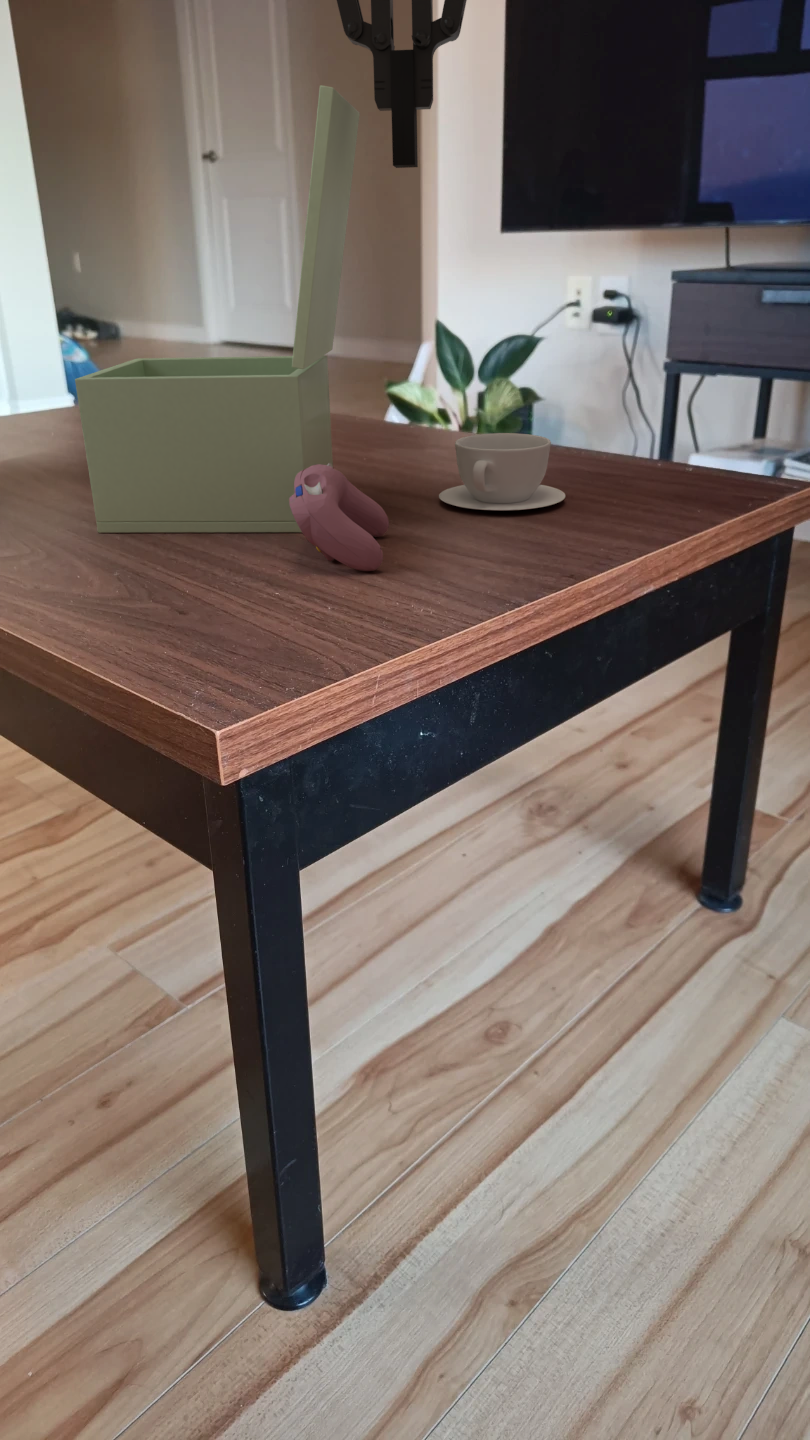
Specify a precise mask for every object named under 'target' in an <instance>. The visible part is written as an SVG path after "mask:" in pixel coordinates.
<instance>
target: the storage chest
mask: <svg viewBox="0 0 810 1440" xmlns="http://www.w3.org/2000/svg"><path fill="white" fill-rule="evenodd" d="M292 359H293V355H282V356H281V355H277V356H276V355H275V356H271V355H270V356H213V357H211V356H209V357H208V356H207V357H205V356H204V357H203V356H202V357H145V358H143V357H141V358H137V357H136V358H134V359H130V360H127V361H125V362H121V363H119V364H116V365H113V366H110V367H106V368H104V369H100V370H98V371H95V372H92V373H89V374H86V375H83V376H80V377H77V378H75V379H74V382H75V383H74V384H75V389H76V396H77V403H78V409H79V410H78V411H79V417H80V421H81V430H82V435H83V436H82V437H83V444H84V449H85V456H86V464H87V469H88V475H89V483H90V490H91V495H92V502H93V509H94V515H95V521H96V530H97V533H99V534H110V533H111V534H115V533H116V534H120V533H121V534H125V533H126V534H129V533H130V534H133V533H134V534H135V533H136V534H138V533H139V534H140V533H141V534H143V533H145V534H146V533H148V534H150V533H151V534H152V533H153V534H156V533H158V534H161V533H164V534H165V533H167V534H168V533H169V534H171V533H172V534H173V533H179V534H180V533H182V534H183V533H185V534H186V533H192V534H194V533H199V534H200V533H202V534H203V533H204V534H205V533H210V534H211V533H216V534H217V533H220V534H221V533H227V534H228V533H241V534H243V533H244V534H245V533H252V534H253V533H302V531H301V530H300V528H299V526H298V524H297V522H296V520H295V518H294V516H293V514H292V511H291V508H290V504H289V498H290V497H291V496H292V495H293V494H294V481H295V477H296V475H297V474H298V473H299V472H300V471H302V470H304V469H307V468H308V467H310V466H313V465H317V464H321V465H328V463H331V465H332V467H333V468H334V462H333V461H334V460H333V459H334V457H333V444H332V443H333V442H332V441H333V440H332V439H333V438H332V421H331V419H332V418H331V401H330V383H329V381H330V380H329V361H328V360H329V359H328V355H324V356H322V357H321V358H319V359H318V360H316V361H315V362H313V363H312V364H311V365H309V366H308V367H306V368H305V369H298V368H293V367H292Z"/></svg>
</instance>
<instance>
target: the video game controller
mask: <svg viewBox="0 0 810 1440" xmlns="http://www.w3.org/2000/svg"><path fill="white" fill-rule="evenodd" d="M289 504H290V508H291V511H292V514H293V516H294V518H295V520H296V522H297V524H298V526H299V528H300V530H301V531H302V532H301V534H302V535H303V536H304V538H305V539H306V540H307V541H308V542H309V543H310V544H311V545H312V546H313V547H315V548H316V550H317V551H318V552H319V553H322V555H323V557H324V558H325V559H326V560H328V561H329V562H331V561H333V560H335V561H337V562H340V563H341V564H342V565H345V566H347V567H348V568H350V569H354V570H357V571H361V572H374V571H377V569H379V567H380V566H381V565H382V563H383V561H384V554H383V553H384V552H383V548H382V546H381V545H380V543H378V541H377V540H376V539H375V538H380V537H382V536H384V535H385V534H386V533H387V532H388V529H389V527H390V523H389V522H390V521H389V517H388V515H387V513H386V511H385V510H384V509H383V507H382V506H381V505H380V504H379V503H378V502H376V501H375V500H374V499H372V498H371V497H370V496H368V495H367V494H365V493H363V491H361V490H359V489H358V488H357V487H356V486H355V485H354V484H352V482H350V480H349V479H348V478H347V477H346V476H345V474H343V473H342V472H341V471H340V470H338V469H335V468H334V466H333V467H332V465H331V463H328V465H321V464H317V465H313V466H310V467H308V468H307V469H304V470H302V471H300V472H299V473H298V474H297V475H296V477H295V481H294V494H293V495H292V496H291V497H290V498H289ZM374 537H375V538H374Z"/></svg>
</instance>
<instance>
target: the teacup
mask: <svg viewBox="0 0 810 1440" xmlns="http://www.w3.org/2000/svg"><path fill="white" fill-rule="evenodd" d="M551 446H552V441H551V439H549V438H547V437H545V436H542V435H541V436H540V435H535V434H528V433H514V432H513V433H512V432H496V433H480V434H474V435H468V436H463V437H460V438H457V439H456V440H455V442H454V448H455V455H456V464H457V470H458V474H459V478H460V479H461V481H462V484H461V485H456V486H451V487H449V488H447V489H444V490H442V491H441V492H439V494H438V498H439V499H440V501H442V502H444V503H446V504H448V505H450V506H451V505H452V506H456V507H458V508H463V509H471V510H481V511H522V510H523V511H524V510H532V509H538V508H544V507H550V506H552V505H555V504H557V503H561V502H562V501H563V500H564V499H565V498H566V493H565V492H564V491H563V490H560V489H559V488H556V487H553V486H549V485H546V484H541V483H542V482H543V480H544V478H545V477H546V473H547V469H548V465H549V458H550V457H549V456H550V452H551Z"/></svg>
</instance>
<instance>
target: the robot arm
mask: <svg viewBox="0 0 810 1440" xmlns="http://www.w3.org/2000/svg"><path fill="white" fill-rule="evenodd" d="M443 1H444V2H443V7H442V12H441V16H440V17H439V18H437V19H435V20H434V7H433V5H434V3H433V0H411V40H412V49H395V48H396V46H395V34H394V32H395V31H394V30H395V29H394V0H370V13H371V14H370V21H371V22H368V21H367V22H366V21H364V16H363V11H362V8H361V3H360V0H336V4H337V8H338V12H339V16H340V20H341V24H342V28H343V32H344V34H345V36H346V37H347V38H348V40H349V42H350V43H351V44H353V45H355V46H359V47H362V48H364V49H366V50H369V51H370V52H371V54H372V60H373V62H372V63H373V65H372V66H373V94H374V95H373V96H374V97H373V99H374V102H375V105H376V107H377V110H378V111H379V112H389V111H391V144H392V145H391V146H392V147H391V148H392V149H391V150H392V166H393V167H394V168H395V169H404V168H405V169H406V168H408V169H409V168H418V167H419V166H418V165H419V164H418V162H419V161H418V158H419V157H418V111H419V110H420V111H421V110H431V108H432V106H433V103H434V55H435V52H436V50H438V49H439V48H440V47H442V46H443V45H445V44H448V43H449V42H454V41H457V39H458V38H459V37H460V34H461V30H462V25H463V20H464V16H465V10H466V5H467V1H468V0H443Z"/></svg>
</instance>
